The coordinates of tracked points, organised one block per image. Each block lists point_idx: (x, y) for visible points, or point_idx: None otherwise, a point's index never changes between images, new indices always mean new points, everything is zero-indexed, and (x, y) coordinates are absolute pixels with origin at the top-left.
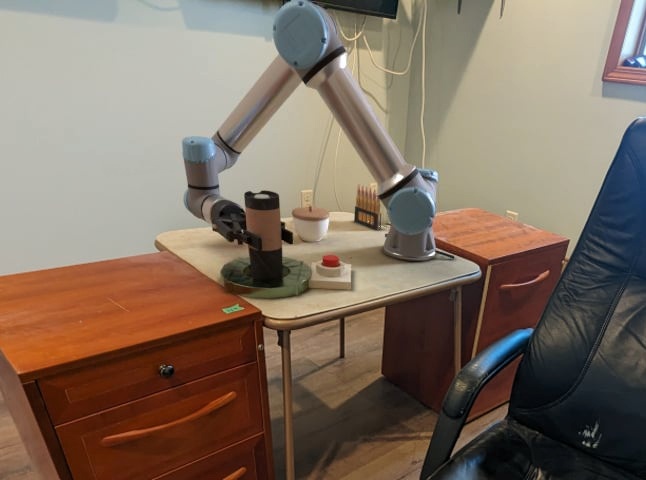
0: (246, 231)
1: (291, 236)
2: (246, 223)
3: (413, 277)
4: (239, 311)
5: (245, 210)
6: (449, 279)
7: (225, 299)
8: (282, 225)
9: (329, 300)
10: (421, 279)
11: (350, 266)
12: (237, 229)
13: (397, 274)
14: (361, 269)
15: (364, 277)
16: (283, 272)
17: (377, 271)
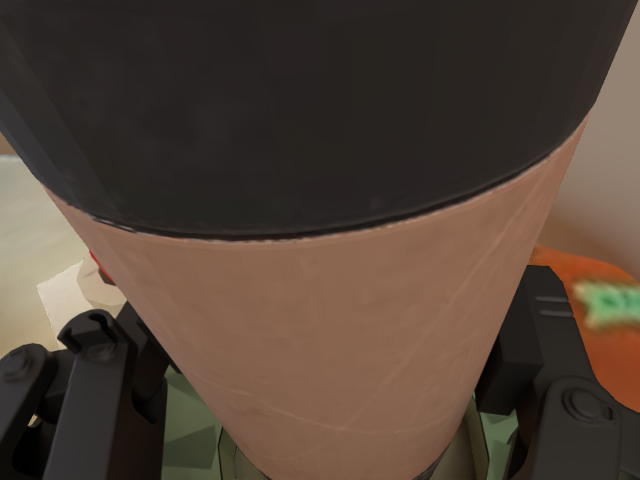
0: (520, 311)
1: None
2: (502, 322)
3: (27, 193)
4: (600, 279)
5: (558, 187)
6: (9, 155)
7: (635, 391)
8: (55, 359)
9: None
10: (35, 179)
11: (59, 274)
12: (595, 448)
13: (19, 221)
14: (11, 298)
15: (87, 252)
16: (232, 453)
17: (13, 261)
